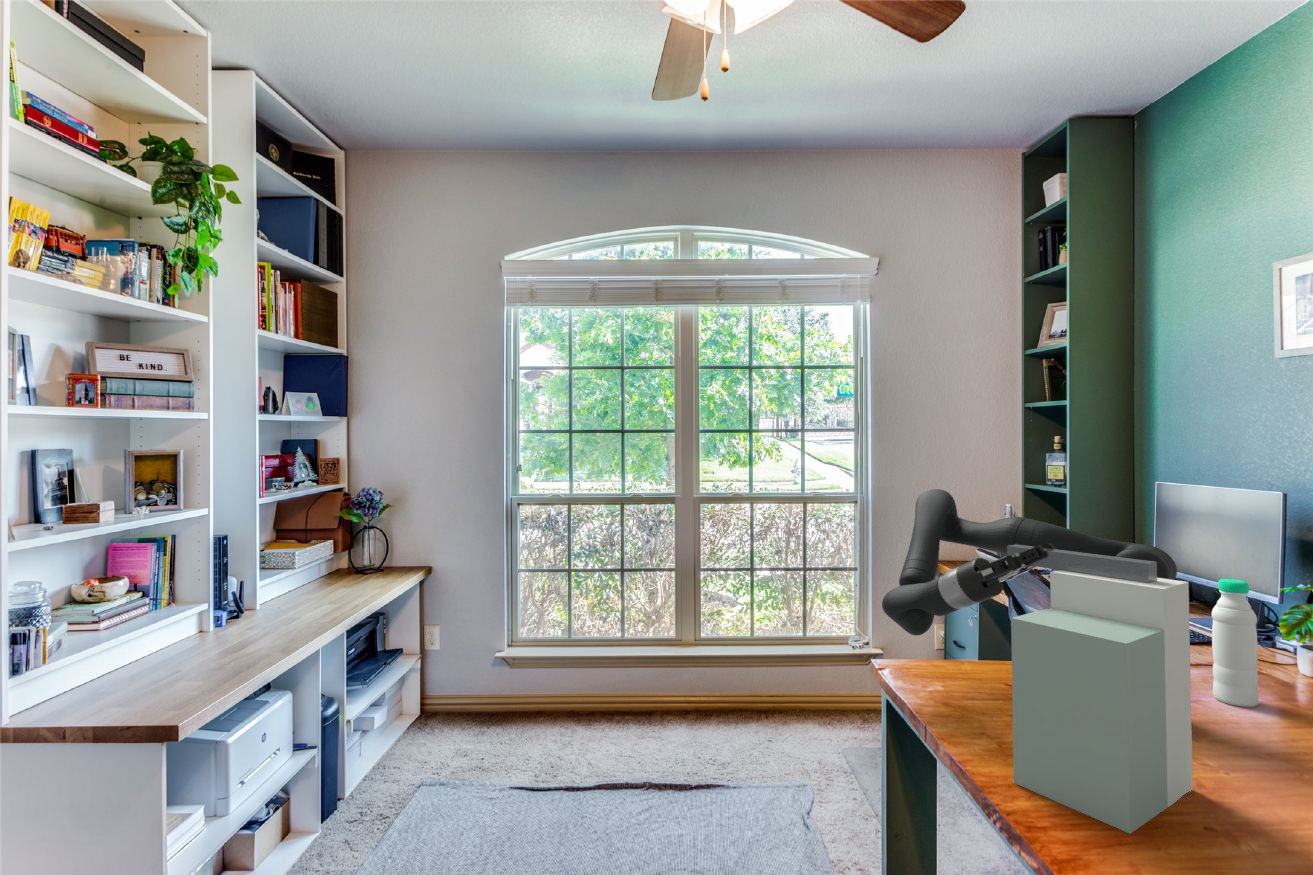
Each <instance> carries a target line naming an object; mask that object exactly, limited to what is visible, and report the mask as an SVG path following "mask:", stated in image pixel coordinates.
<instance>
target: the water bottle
mask: <svg viewBox="0 0 1313 875" xmlns="http://www.w3.org/2000/svg"><path fill="white" fill-rule="evenodd" d="M1217 588H1218V591H1219V593H1220V597H1219V599H1218V600H1217V601H1216V604H1215V606H1214V607H1213V608H1212V611H1211V618H1212V627H1211V628H1212V630H1211V631H1212V632H1211V641H1212V642H1211V646H1212V658H1213V665H1212V677H1213V684H1212V694H1213V696H1214V698H1215V699H1217V700H1218V701H1219V702H1222V703H1224V704H1227V705H1231V706H1234V707H1235V706H1237V707H1243V708H1252V707H1253V708H1254V707H1256V706H1258V705H1259V704H1260V699H1259V698H1260V697H1259V696H1260V695H1259V690H1258V686H1259V685H1258V684H1259V674H1258V669H1257V668H1258V659H1259V658H1258V654H1259V652H1258V634H1257V622H1258V617H1257V615H1256V613H1255V611H1254V610H1253V609H1252V606H1251V604H1250V602H1248V600H1247V596H1248V595H1249V591H1250V585H1249V583H1248V582H1247V581H1245V580H1241V579H1235V578H1234V579H1233V578H1221V579H1219V580H1218V582H1217Z"/></svg>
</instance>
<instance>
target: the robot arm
mask: <svg viewBox="0 0 1313 875" xmlns="http://www.w3.org/2000/svg"><path fill="white" fill-rule="evenodd" d="M913 522H914V523H913V527H912V528H913V529H912V534H911V537H910V538H911V539H910V542H909V547H908V550H907V554H906V557H905V559H904V563H903V566H902V569H901V573H900V576H899V579H898V584H899V586H897V587H894V588H892V589H890V590H889V591H888V592H887V593H886V594H885V595H884V597H883V599H882V602H881V608H882V610H883V613H884V614H885V615H886V616H887V617H888V618H890V619H891V620H892V621H893V622H894V623H896V625H898V626H900V628H902V629H903V631H905V632H906V633H907V634H909V635H912V636H922V635H923V634H925V633H927V632H928V631H929V630H930V628H931V627H932V625H933V622H934V619H935V616H936V617H942V616H943V617H944V616H946V615H949V614H952V613H954V612H956V611H958V610H962V609H964V608H969V607H973V606H976V605H977V604H979V603H982V602H984V601H987V600H990V599H993V598H995V597H997V596H999V595H1000V594H1001V593H1002V592H1003V588H1004V584H1003V582H1005V581H1006V582H1008V581H1011V580H1014V579H1016V578H1017V576H1020V575H1023V574H1026V573H1028V572H1029V571H1031V570H1032V569H1035V568H1036V566H1029V564H1031V563H1034V562H1036V561H1038V560H1041V559H1043V558H1045V557H1046V553H1045V551H1044V549H1043V548H1049V549H1057V550H1065V551H1073V552H1081V553H1090V554H1098V555H1106V556H1114V557H1122V558H1130V559H1138V560H1146V561H1154V562H1157V578H1163V579H1170V580H1175V579H1176V577H1177V574H1178V567H1177V564H1176V562H1175V560H1174V559H1173V558H1172V557H1171V556H1170V554H1168V553H1167V552H1166V551H1164V550H1163V549H1162V548H1159V547H1157V546H1154V545H1149V544H1143V543H1135V542H1134V543H1133V542H1127V541H1122V540H1121V541H1120V540H1114V539H1107V538H1102V537H1098V536H1094V535H1089V534H1087V533H1083V532H1080V531H1077V530H1073V529H1069V528H1066V527H1063V526H1059V525H1056V524H1053V523H1052V524H1051V523H1048V522H1046V521H1045V522H1044V521H1039V520H1036V519H1031V518H1027V517H1021V516H1011V517H1010V516H1009V517H1005V518H1000V519H997V520H993V521H989V522H978V521H977V522H976V521H972V520H968V519H965V518H962V517H959V514H958V509H957V504H956V502H955V499H954V497H953V496H952V494H951V493H950V492H948V491H946V490H944V489H941V488H939V489H938V488H933V489H928V490H925V491H924V492H922V493H921V494H920V495H918V497H917V499H916V501H915V510H914V521H913ZM941 542H945V543H946V542H947V543H953V544H959V545H964V546H969V547H974V548H977V549H978V548H979V549H983V550H987V551H991V552H994V553H999V554H1002V555H1005V556H1002V557H1000V558H998V559H995V560H994V559H993V560H991V561H989V560H988V559H986V558H983V557H976V558H975V559H972V560H970V561H968V562H965V563H963V564H961V565H959V566H956V567H955V568H953V569H951V570H949V571H948V572H946V573H944V574H942V575H941V576H939V577H937V573H938V569H939V568H938V567H939V563H940V562H939V557H940V543H941ZM1016 544H1017V545H1025V546H1033V547H1034V548H1031V549H1029V550H1027V551H1025V552H1022V553H1021V554H1020V553H1016V554H1015V555H1013V556H1012V555H1010V556H1009V555H1008V556H1007V546H1009V545H1016ZM1026 564H1027V565H1026ZM936 577H937V578H936Z"/></svg>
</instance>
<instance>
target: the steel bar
mask: <svg viewBox="0 0 1313 875" xmlns="http://www.w3.org/2000/svg"><path fill="white" fill-rule="evenodd" d="M1031 548H1034V547H1033V546H1025V545H1017V544H1016V545H1009V546H1007V555H1006V556H1008V555H1009V556H1010V555H1012V556H1013V555H1015V554H1016V553H1020V554H1021V553H1022V552H1025V551H1027V550H1029V549H1031ZM1043 549H1044V551H1045V553H1046V557H1045V558H1043V559H1041V560H1038V561H1036V562H1034V563H1031V564H1029V566H1036V567H1037V568H1044V569H1051V570H1055V571H1057V570H1063V571H1069V572H1076V573H1083V574H1090V575H1096V576H1103V577H1110V578H1117V579H1123V580H1130V581H1137V582H1144V583H1151V582H1155V581H1157V562H1154V561H1146V560H1138V559H1130V558H1122V557H1114V556H1106V555H1098V554H1090V553H1081V552H1073V551H1065V550H1057V549H1049V548H1043ZM1026 565H1027V564H1026ZM1036 567H1035V568H1036Z"/></svg>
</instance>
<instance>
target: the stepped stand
mask: <svg viewBox="0 0 1313 875" xmlns="http://www.w3.org/2000/svg"><path fill="white" fill-rule="evenodd" d="M1049 574H1050V575H1049V576H1050V577H1049V579H1050V583H1049V585H1050V589H1049V590H1050V592H1049V593H1050V607H1048V608H1044V609H1040V610H1036V611H1033V612H1028V613H1025V614H1022V615H1021V614H1020V615H1018V616H1014V617H1011V618H1010V621H1011V622H1010V624H1011V626H1010V627H1011V629H1010V631H1011V633H1010V634H1011V636H1010V637H1011V689H1012V690H1011V691H1012V692H1011V694H1012V698H1011V699H1012V703H1011V704H1012V753H1013V755H1012V756H1013V757H1012V758H1013V765H1012V766H1013V784H1015V785H1018V786H1020V787H1021V788H1022V787H1023V788H1025V789H1027V790H1029V791H1031V792H1033V793H1036V794H1038V795H1041V796H1042V797H1045V798H1047V799H1049V800H1052V801H1054V802H1056V803H1059V804H1061V805H1062V806H1066V807H1068V808H1070V809H1072V810H1075V811H1078V812H1079V813H1082V814H1083V815H1086V816H1088V817H1091V818H1093V819H1095V820H1098V821H1100V822H1102V823H1104V824H1107V825H1109V826H1111V827H1113V828H1117V829H1118V830H1120V831H1123V832H1125V833H1127V834H1130V835H1131V834H1132V833H1134V832H1135V831H1136V830H1138V829H1139V828H1141V827H1142V826H1143V825H1145V824H1146V823H1148V822H1150V821H1151V820H1152V819H1154V818H1156V817H1157V816H1158V815H1159V814H1161V813H1162V812H1164V811H1165V810H1166V809H1168V808H1169V807H1171V806H1172V805H1174V804H1175V803H1177V800H1178V801H1179V800H1180V799H1182V798H1183V797H1184V796H1183V795H1184V794H1186V793H1187V792H1189V791H1190V792H1192V791H1193V790H1192V789H1194V788H1193V787H1194V786H1193V782H1194V781H1193V744H1192V743H1193V742H1192V738H1193V737H1192V736H1193V734H1192V730H1193V729H1192V689H1191V688H1192V687H1191V644H1190V643H1191V642H1190V641H1191V640H1190V638H1191V636H1190V632H1191V631H1190V604H1189V603H1190V590H1189V588H1190V587H1189V583H1190V582H1189V581H1185V580H1184V581H1183V580H1177V579H1176V580H1175V579H1174V580H1170V579H1163V578H1157V581H1155V582H1151V583H1144V582H1137V581H1130V580H1123V579H1117V578H1110V577H1103V576H1096V575H1090V574H1083V573H1076V572H1069V571H1063V570H1054V571H1049ZM1191 790H1192V791H1191ZM1190 792H1189V793H1190ZM1186 795H1187V794H1186ZM1182 796H1183V797H1182ZM1181 797H1182V798H1181ZM1179 798H1180V799H1179ZM1160 812H1161V813H1160Z"/></svg>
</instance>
